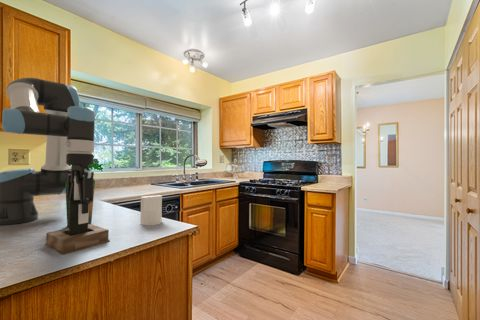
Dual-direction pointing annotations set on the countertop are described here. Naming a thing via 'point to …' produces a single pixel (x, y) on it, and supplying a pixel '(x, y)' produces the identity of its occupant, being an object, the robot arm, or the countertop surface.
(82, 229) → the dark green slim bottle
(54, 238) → the walnut holder
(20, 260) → the countertop surface
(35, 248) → the countertop surface
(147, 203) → the white upright cylinder
